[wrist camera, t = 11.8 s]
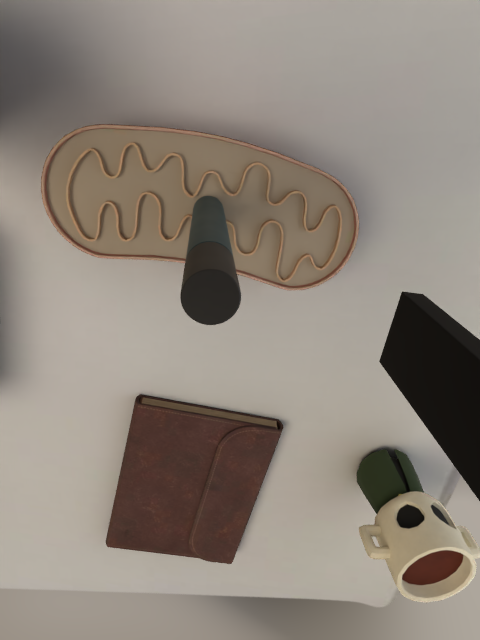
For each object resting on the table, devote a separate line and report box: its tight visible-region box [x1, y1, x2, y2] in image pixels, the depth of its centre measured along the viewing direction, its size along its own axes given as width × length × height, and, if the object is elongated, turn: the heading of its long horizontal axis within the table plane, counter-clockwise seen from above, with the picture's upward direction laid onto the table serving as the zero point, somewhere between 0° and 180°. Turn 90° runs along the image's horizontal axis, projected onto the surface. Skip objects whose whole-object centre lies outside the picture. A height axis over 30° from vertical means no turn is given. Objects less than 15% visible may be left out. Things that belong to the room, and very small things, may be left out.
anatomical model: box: [41, 124, 359, 290], centre depth 34 cm, size 23×10×5 cm, turn 78°
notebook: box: [106, 395, 283, 564], centre depth 47 cm, size 15×20×2 cm
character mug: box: [357, 449, 480, 602], centre depth 43 cm, size 11×7×13 cm, turn 85°
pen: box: [181, 196, 241, 325], centre depth 24 cm, size 2×2×17 cm
